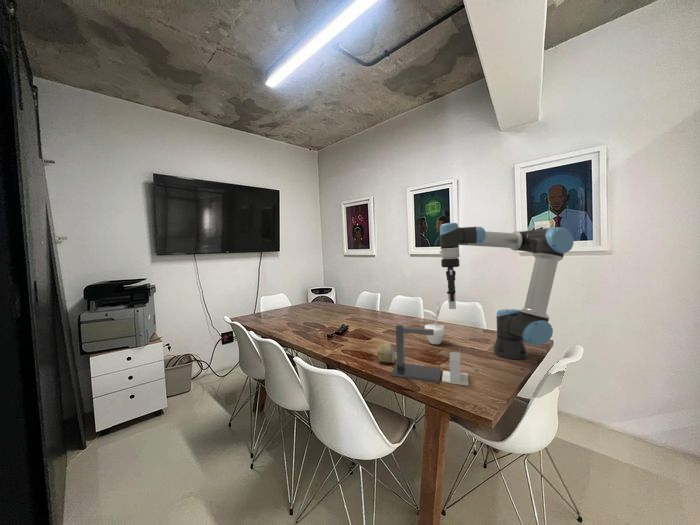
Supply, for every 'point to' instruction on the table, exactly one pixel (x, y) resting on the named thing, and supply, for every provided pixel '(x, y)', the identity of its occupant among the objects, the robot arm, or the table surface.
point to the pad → (462, 382)
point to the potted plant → (435, 328)
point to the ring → (454, 366)
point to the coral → (386, 353)
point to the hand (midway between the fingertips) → (452, 305)
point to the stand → (409, 369)
